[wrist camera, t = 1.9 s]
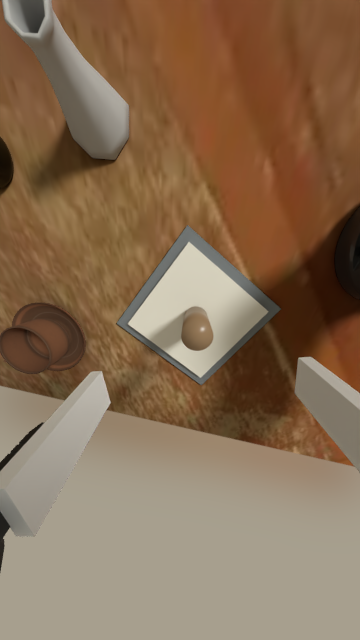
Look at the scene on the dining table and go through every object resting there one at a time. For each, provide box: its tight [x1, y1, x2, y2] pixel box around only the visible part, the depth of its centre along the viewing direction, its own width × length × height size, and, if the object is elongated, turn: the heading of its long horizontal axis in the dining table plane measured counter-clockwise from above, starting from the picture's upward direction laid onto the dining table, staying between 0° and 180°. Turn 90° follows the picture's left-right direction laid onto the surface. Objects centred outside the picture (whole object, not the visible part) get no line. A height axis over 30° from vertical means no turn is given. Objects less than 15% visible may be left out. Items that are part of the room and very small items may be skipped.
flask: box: [2, 0, 129, 160], centre depth 16 cm, size 7×7×10 cm
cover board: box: [128, 242, 268, 378], centre depth 23 cm, size 15×15×8 cm
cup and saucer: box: [0, 303, 86, 374], centre depth 27 cm, size 12×12×6 cm
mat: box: [117, 225, 281, 385], centre depth 27 cm, size 18×18×1 cm
